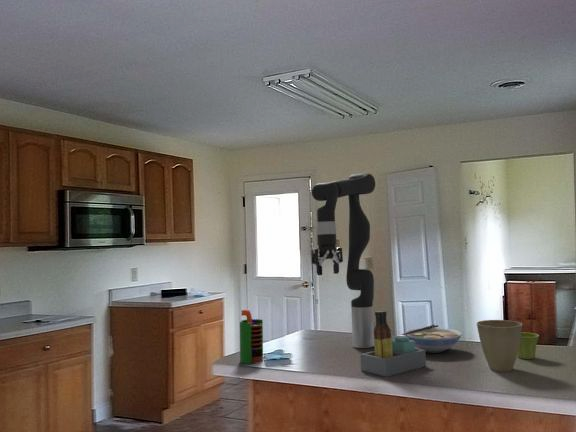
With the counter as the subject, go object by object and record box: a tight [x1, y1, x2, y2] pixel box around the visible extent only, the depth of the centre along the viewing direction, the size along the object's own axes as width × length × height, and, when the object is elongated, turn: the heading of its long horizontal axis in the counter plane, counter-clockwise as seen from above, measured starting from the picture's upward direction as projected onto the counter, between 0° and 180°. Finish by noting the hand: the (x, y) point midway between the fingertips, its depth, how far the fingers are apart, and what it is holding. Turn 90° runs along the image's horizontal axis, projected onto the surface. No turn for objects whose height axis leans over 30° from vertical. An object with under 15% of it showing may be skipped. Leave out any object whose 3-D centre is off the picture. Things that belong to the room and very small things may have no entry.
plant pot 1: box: [476, 319, 523, 373], centre depth 192 cm, size 15×15×16 cm
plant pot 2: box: [516, 331, 540, 360], centre depth 207 cm, size 9×9×9 cm
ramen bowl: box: [400, 324, 463, 354], centre depth 224 cm, size 25×23×8 cm
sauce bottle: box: [374, 309, 393, 358], centre depth 195 cm, size 7×6×20 cm
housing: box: [359, 347, 427, 377], centre depth 198 cm, size 21×12×6 cm, turn 127°
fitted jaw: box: [392, 335, 416, 354], centre depth 201 cm, size 6×7×9 cm
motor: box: [239, 309, 264, 365], centre depth 217 cm, size 10×9×20 cm
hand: (328, 274), depth 217 cm, fingers open, 8 cm apart
